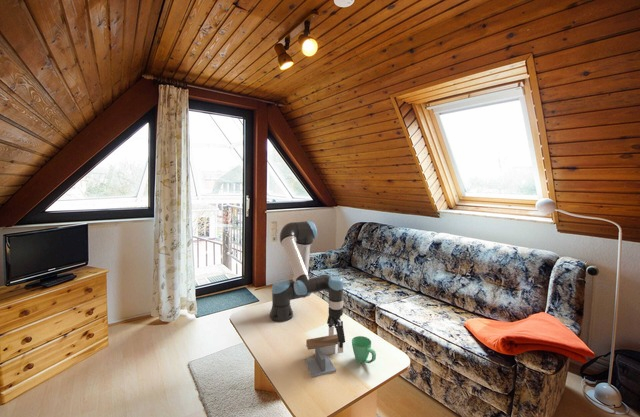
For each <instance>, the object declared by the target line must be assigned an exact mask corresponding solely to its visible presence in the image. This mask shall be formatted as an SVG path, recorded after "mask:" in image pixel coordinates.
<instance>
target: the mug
mask: <svg viewBox="0 0 640 417" xmlns="http://www.w3.org/2000/svg"><path fill="white" fill-rule="evenodd" d="M371 347H372V341H371V339H370V338H368V337H367V336H362V335H358V336H354V337H353V338H352V339H351V348H352V350H353V355H354V358H355V359H356V362H357V363H359V364H371V363H373V362H375V361H376V359H377V358H376V357H377V353H376V351H375V349H373V348H371ZM370 354H371V359H369V360H368V357H369V355H370Z"/></svg>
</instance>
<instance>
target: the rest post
mask: <svg viewBox="0 0 640 417" xmlns="http://www.w3.org/2000/svg"><path fill="white" fill-rule="evenodd" d="M336 345H337V344H336ZM336 345H331V346H326V347H321V348H320V350H321V352H322V354H323V355H324V356H325V355H328V356H329V355H332V354H336V348H337V347H336Z"/></svg>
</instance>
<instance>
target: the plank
mask: <svg viewBox="0 0 640 417" xmlns="http://www.w3.org/2000/svg"><path fill="white" fill-rule="evenodd" d="M337 341H338V336H337V333H336V334H334V335H330V336H329V335H324V336H320V337H314V338H309V339H306V344H305V345H306V348H307V350H308V351H309V350H315V348H316V347H319V348H321V347H326V346H331V345H338V342H337ZM345 343H346V341H345V342H343V344H345Z"/></svg>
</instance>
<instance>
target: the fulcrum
mask: <svg viewBox="0 0 640 417" xmlns="http://www.w3.org/2000/svg"><path fill="white" fill-rule="evenodd" d="M314 355H315V356H314V357H311V358H306V359H304V362H305V365H306V367H307V370H308V371H309V374H310V376H311V378H314V377H320V376H322V375H323V376H324V375H327V374H332V373H337V372H336V371H337V369H336V368H335V366H334V364H333V362H332V360H331V359H330V357H329V354H328V355H323V354H322V352H321V350H320V348H319V347H316V348H315V349H314Z"/></svg>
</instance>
